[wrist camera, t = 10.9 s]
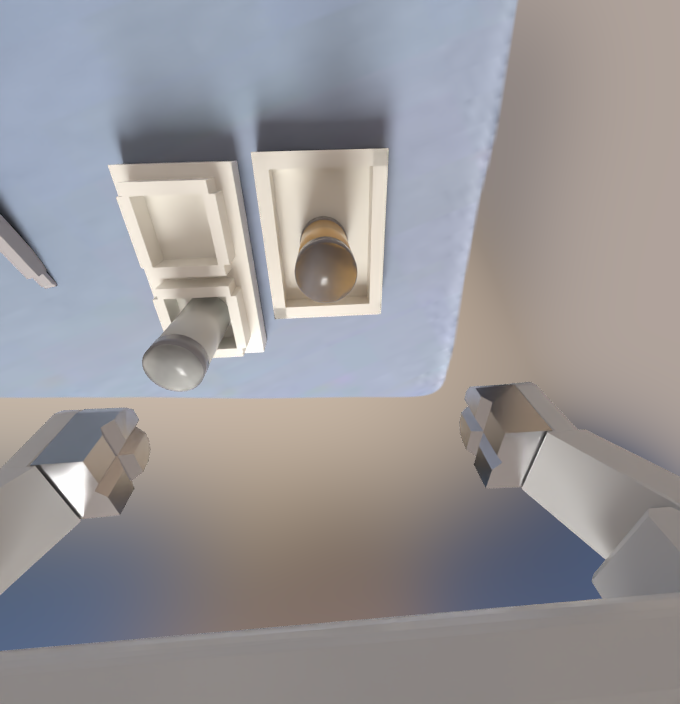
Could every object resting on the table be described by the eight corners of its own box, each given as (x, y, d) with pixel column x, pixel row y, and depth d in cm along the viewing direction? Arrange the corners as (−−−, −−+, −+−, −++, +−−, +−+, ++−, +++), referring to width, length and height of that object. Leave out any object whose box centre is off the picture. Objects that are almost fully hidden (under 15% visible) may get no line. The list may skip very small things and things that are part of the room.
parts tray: (256, 151, 23) (250, 152, 21) (382, 148, 23) (388, 148, 21) (277, 306, 30) (274, 318, 27) (376, 302, 30) (380, 313, 28)
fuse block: (122, 163, 23) (10, 173, 15) (236, 160, 23) (191, 167, 15) (182, 345, 31) (132, 418, 23) (266, 340, 31) (248, 412, 23)
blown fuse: (298, 216, 25) (291, 242, 18) (346, 215, 25) (357, 240, 18) (302, 264, 27) (297, 304, 20) (347, 263, 27) (357, 301, 20)
